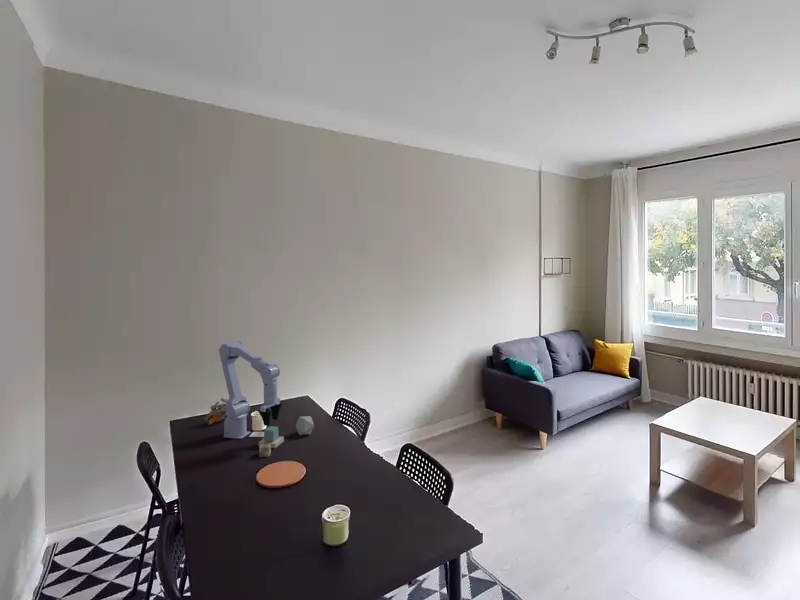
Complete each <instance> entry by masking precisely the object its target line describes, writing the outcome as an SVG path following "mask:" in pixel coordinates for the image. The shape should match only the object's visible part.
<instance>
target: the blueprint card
mask: <svg viewBox="0 0 800 600" xmlns="http://www.w3.org/2000/svg"><path fill="white" fill-rule="evenodd" d="M249 437H250V438H252V437H253V438H264V431H253V432H251V433H250V434H249V436H248V438H249Z"/></svg>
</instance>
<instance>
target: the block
mask: <svg viewBox="0 0 800 600" xmlns="http://www.w3.org/2000/svg"><path fill="white" fill-rule="evenodd" d="M271 452H272V448H271V443H270V444H261V445H260V447H259V453H258V454H259V458H266V457H267V458H268V457H270V456H271Z"/></svg>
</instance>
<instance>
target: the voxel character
mask: <svg viewBox="0 0 800 600" xmlns="http://www.w3.org/2000/svg"><path fill="white" fill-rule="evenodd" d="M228 400H229V399H227V398H226V399H224V398H220V401H221V402H222V403H221V404H220V403H219V401H216V402H215V403H214V404H213V405H212V406H210V407H209V408H210V411H209V413H208V414H206V416H204V417H203V419H204V422H206V424H208V426H211V425H212V424H213V423H218V421H219V422H221V421H222V420H225V419H226V418H227V415H226V405H225V404H226V402H227V401H228Z"/></svg>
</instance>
